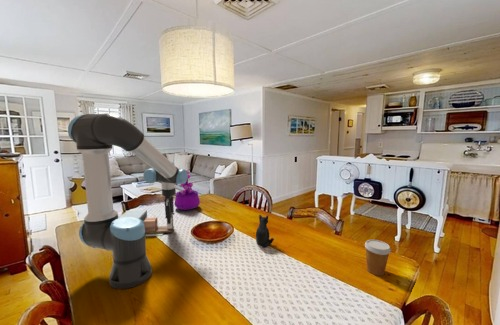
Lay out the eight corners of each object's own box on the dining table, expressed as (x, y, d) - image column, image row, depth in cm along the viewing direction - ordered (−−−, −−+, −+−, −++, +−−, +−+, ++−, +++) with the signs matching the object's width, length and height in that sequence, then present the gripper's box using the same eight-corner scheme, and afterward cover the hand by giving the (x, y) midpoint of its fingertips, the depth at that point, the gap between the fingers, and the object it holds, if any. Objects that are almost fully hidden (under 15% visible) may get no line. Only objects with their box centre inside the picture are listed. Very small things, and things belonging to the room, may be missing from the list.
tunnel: (167, 236, 128) (166, 217, 126) (104, 239, 123) (102, 219, 122) (172, 226, 141) (171, 209, 140) (115, 229, 137) (114, 211, 136)
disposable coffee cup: (388, 281, 89) (390, 252, 88) (361, 273, 94) (363, 246, 93) (388, 269, 97) (391, 242, 96) (364, 262, 102) (365, 237, 101)
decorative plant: (186, 214, 163) (184, 173, 159) (169, 209, 173) (167, 170, 169) (204, 207, 178) (204, 169, 174) (188, 203, 188) (187, 167, 184)
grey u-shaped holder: (171, 232, 131) (171, 215, 130) (142, 233, 129) (141, 216, 128) (174, 227, 138) (173, 211, 137) (146, 228, 136) (145, 212, 135)
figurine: (274, 241, 123) (275, 214, 121) (272, 250, 113) (273, 221, 111) (257, 239, 124) (257, 213, 123) (253, 248, 115) (253, 219, 113)
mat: (162, 235, 129) (162, 235, 129) (143, 236, 127) (143, 235, 127) (166, 227, 140) (166, 227, 140) (149, 228, 138) (149, 227, 138)
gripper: (172, 191, 124) (174, 232, 127) (177, 185, 140) (179, 221, 143) (158, 191, 123) (160, 233, 126) (165, 185, 139) (166, 222, 142)
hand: (170, 227), depth 134 cm, fingers closed on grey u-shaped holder, 3 cm apart
